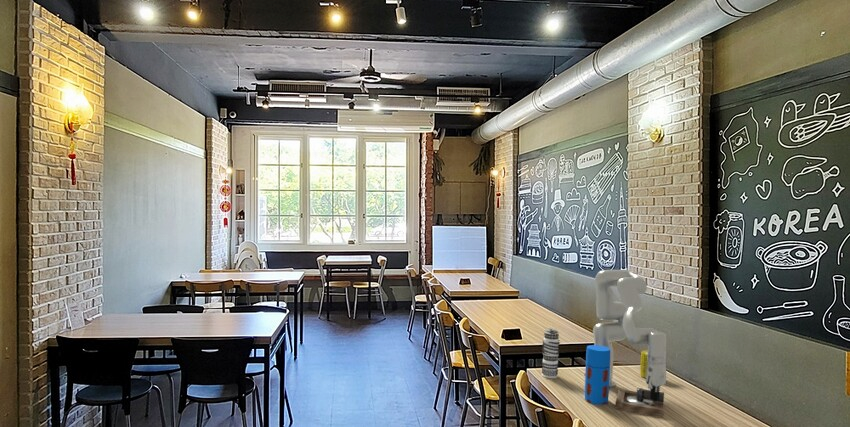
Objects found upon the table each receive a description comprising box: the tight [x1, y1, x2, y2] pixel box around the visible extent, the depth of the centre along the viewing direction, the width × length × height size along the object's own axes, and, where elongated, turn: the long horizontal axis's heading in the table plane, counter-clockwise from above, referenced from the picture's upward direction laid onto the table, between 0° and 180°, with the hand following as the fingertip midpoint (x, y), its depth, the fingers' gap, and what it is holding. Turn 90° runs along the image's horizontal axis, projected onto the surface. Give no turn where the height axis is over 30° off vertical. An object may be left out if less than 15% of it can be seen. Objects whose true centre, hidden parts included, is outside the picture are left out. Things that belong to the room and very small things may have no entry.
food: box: [639, 349, 648, 379], centre depth 294 cm, size 15×12×10 cm
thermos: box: [584, 344, 610, 406], centre depth 255 cm, size 11×11×25 cm
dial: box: [627, 387, 665, 406], centre depth 250 cm, size 16×12×6 cm
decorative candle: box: [541, 328, 561, 379], centre depth 291 cm, size 9×9×25 cm
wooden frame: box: [614, 388, 665, 418], centre depth 251 cm, size 20×20×3 cm
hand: (654, 399), depth 245 cm, fingers closed
